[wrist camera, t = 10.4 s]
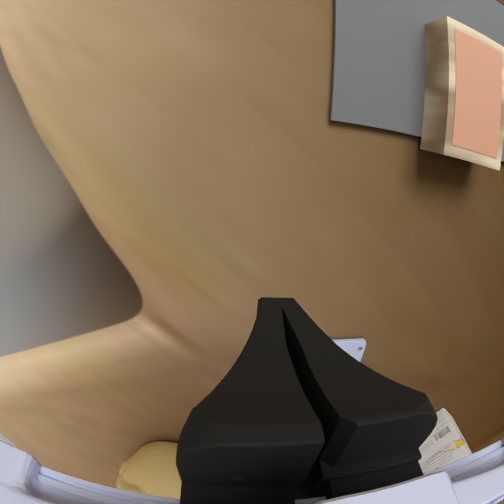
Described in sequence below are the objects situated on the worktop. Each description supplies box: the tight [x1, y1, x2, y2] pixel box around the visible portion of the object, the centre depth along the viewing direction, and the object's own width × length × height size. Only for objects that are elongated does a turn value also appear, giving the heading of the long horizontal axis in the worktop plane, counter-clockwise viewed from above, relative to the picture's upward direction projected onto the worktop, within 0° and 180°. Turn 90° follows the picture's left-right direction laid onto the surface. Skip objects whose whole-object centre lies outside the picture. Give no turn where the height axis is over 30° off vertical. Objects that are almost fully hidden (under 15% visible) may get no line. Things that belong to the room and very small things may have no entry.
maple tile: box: [420, 16, 504, 171], centre depth 16 cm, size 3×6×10 cm
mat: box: [330, 0, 504, 162], centre depth 16 cm, size 16×20×1 cm
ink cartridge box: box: [418, 408, 472, 473], centre depth 27 cm, size 9×5×15 cm, turn 134°
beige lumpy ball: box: [115, 441, 182, 499], centre depth 28 cm, size 12×12×11 cm
